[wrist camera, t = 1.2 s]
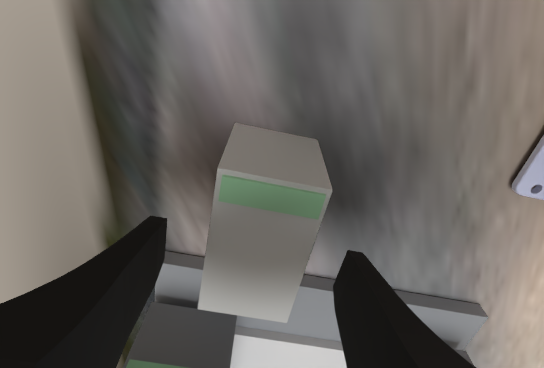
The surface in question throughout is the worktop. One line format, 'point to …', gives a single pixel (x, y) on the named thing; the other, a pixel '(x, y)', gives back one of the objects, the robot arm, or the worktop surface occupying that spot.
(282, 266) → the module
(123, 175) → the worktop surface
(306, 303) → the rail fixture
